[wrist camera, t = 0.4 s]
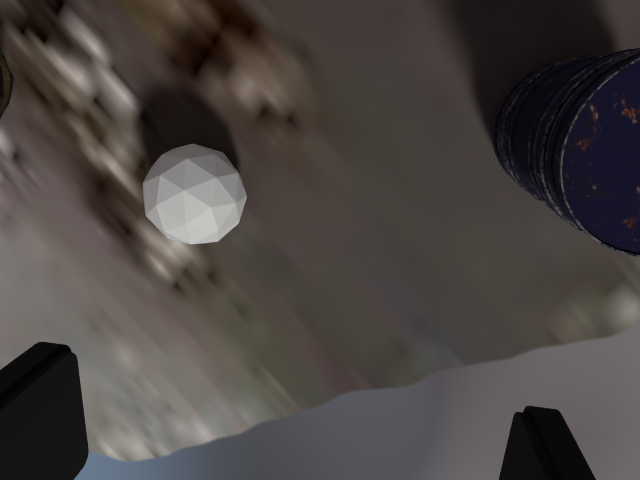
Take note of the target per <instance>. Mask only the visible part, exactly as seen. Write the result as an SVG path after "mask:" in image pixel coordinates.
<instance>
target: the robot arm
mask: <svg viewBox="0 0 640 480" xmlns="http://www.w3.org/2000/svg"><path fill="white" fill-rule="evenodd" d="M87 457H88V442H87V433H86V425H85V417H84V409H83V401H82V393H81V385H80V377H79V369H78V361H77V356H76V355H75V354H74V353H72V352H71V349H70V348H69V346H67V345H63V344H55V343H48V342H39V343H37V344H35V345H33V346H32V347H31V348H29V349H28V350H27V351H25V352H24V353H23V354H21V355H20V356H19V357H17V358H16V359H15V360H13V361H12V362H11V363H9V364H8V365H6V366H5V367H4V368H2V369H1V370H0V480H74V478H75V477H76V476H77V475H78V473H79V472H80V471H81V469H82V468H83V467H84V465H85V463H86V460H87ZM499 480H596V479H595V477H594V475H593V473H592V471H591V469H590V468H589V466H588V464H587V462H586V460H585V458H584V456H583V454H582V452H581V451H580V449H579V447H578V445H577V443H576V441H575V439H574V437H573V435H572V433H571V431H570V430H569V428H568V426H567V424H566V422H565V420H564V418H563V416H562V414H561V413H560V412H559V411H558V410H556V409H549V408H542V407H534V406H526V407H525V409H524V411H523V413H522V412H516V413H515V414H514V417H513V421H512V426H511V429H510V434H509V438H508V443H507V447H506V451H505V455H504V459H503V464H502V468H501V472H500V477H499Z"/></svg>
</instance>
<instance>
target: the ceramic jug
mask: <svg viewBox="0 0 640 480" xmlns="http://www.w3.org/2000/svg"><path fill="white" fill-rule="evenodd" d="M13 81H14V79H13V77H12V75H11V74H10V72H9V70H8V68H7V67H6V62H5V58H4V56H3V54H2V52H1V50H0V118H1V117H2V115H3V113H4V111H5V109H6V107H7V106H8V104H9V101H10V97H11V93H12V87H13Z"/></svg>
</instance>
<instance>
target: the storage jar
mask: <svg viewBox="0 0 640 480" xmlns="http://www.w3.org/2000/svg"><path fill="white" fill-rule="evenodd" d="M493 145H494V150H495V153H496V156H497V159H498V161H499V163H500V164H501V166H502V167H503V169H504V170H505V171H506V173H507V174H508V175H509V176H510V177H512V178H513V180H514V181H515V182H516V183H517V184H518V185H519V186H520V187H522V188H523V189H524V190H525V191H526V192H527V193H529V194H530V195H532V196H533V197H535V198H536V199H538V200H541V201H543V202H545V204H546V205H547V206H548V207H549V208H550V209H551V210H552V211H553V212H554V213H555V214H557V215H558V216H560V217H561V218H563V219H564V220H565V221H567V222H568V223H569V224H571V225H572V226H574V227H575V228H577V229H578V230H580V231H581V232H583V233H586V234H588V235H589V236H590V237H592V238H593V239H595V240H596V241H598V242H599V243H601V244H602V245H604V246H606V247H608V248H611V249H613V250H615V251H617V252H620V253H624V254H628V255H632V256H637V257H640V48H637V49H627V50H623V51H619V52H615V53H611V54H608V55H606V56H581V57H573V58H569V59H565V60H561V61H558V62H554V63H550V64H546V65H544V66H541V67H539V68H537V69H535V70H533V71H531V72H530V73H528V74H526V75H525V76H524V77H523V78H521V79H520V80H519V81H518V82H517V83H516V84H515V85H514V86H513V87H512V88H511V89H510V90H509V92H508V93H507V94H506V96H505V97H504V98H503V100H502V102H501V104H500V106H499V108H498V111H497V113H496V116H495V120H494V125H493Z"/></svg>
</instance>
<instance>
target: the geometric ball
mask: <svg viewBox="0 0 640 480" xmlns="http://www.w3.org/2000/svg"><path fill="white" fill-rule="evenodd" d="M143 197H144V205H145V213H146V216H147V217H148V218H149V219H150V221H151V222H152V223H153V224H154V225H155V226H156V227H157V228H158V229H159V230H160V231H161V232H162V233H163V234H164V235H165V236H166V237H167V238H168V239H172V240H176V241H180V242H184V243H188V244H199V243H208V242H217V241H219V240H220V239H221V238H222V237H223V236H225V235H226V234H227V233H228V232H229V231H230V230H231V229H233V228H234V227H235V226H236V225H237V224H238V223H239V221H240V218H241V214H242V211H243V208H244V204H245V201H246V198H247V195H246V191H245V188H244V184H243V181H242V177H241V176H240V174H239V173H238V172H237V170H236V169H235V168H234V166H233V165H232V164H231V162H230V161H229V159H228V158H227V157H226V155H225V154H224V153H223V152H220V151H216V150H213V149H210V148H206V147H203V146H200V145H196V144H189V145H185V146H182V147H178V148H174V149H172V150H170V151H168V152H166V153H164V154H162V155H161V156H160V157H159V159H158V160H157V161H156V162H155V163H154V165H153V166H152V167H151V169H150V171H149V173H148V175H147V177H146V178H145V180H144V182H143Z"/></svg>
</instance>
